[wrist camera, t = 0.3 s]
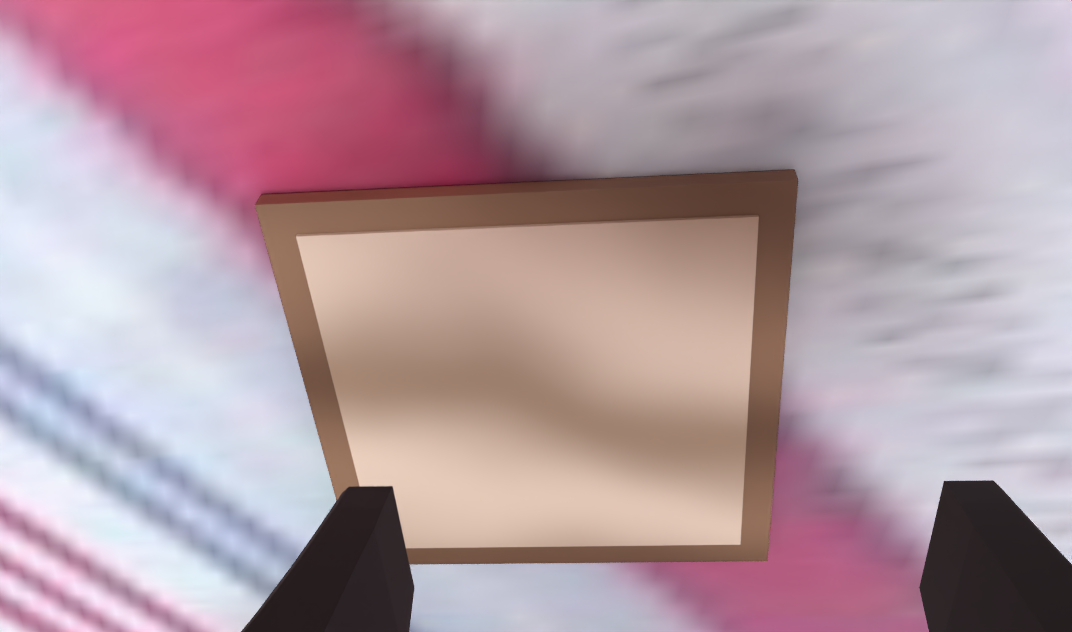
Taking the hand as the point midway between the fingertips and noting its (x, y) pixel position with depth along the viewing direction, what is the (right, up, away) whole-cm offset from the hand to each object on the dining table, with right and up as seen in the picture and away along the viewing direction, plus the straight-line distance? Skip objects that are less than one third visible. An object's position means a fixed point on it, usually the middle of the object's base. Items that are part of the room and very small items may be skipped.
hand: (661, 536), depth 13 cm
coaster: (-1, +1, +12) cm, 12 cm away
